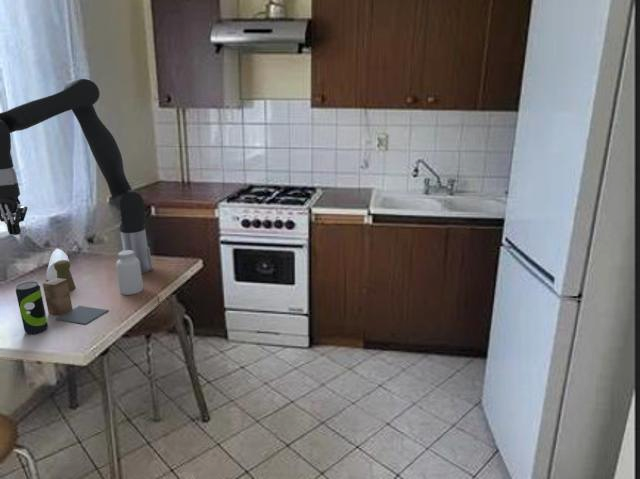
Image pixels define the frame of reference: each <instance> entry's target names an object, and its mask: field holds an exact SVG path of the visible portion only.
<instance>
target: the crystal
mask: <svg viewBox="0 0 640 479" xmlns="http://www.w3.org/2000/svg"><path fill="white" fill-rule="evenodd" d="M60 260H67V261H69V262H70V259H69V257H68V255H67V253H65V252H64V251H63V250H62V249H60V248H55V250H53V252H52V254H51V255H50V258H49V262H48V265H47V266H48V267H47V270H46V274H45V277H46V278H45V280H47V281H49V280H51V279H53V278H57V271H56V270H55V268H54V264H55V263H56V262H57V261H60Z"/></svg>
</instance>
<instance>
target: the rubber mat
mask: <svg viewBox="0 0 640 479" xmlns="http://www.w3.org/2000/svg"><path fill="white" fill-rule="evenodd" d="M108 312H109V310H108V309H103V308H98V307H97V308H96V307H91V306H83V305H78V306H77V307H73V309H72V310H71V311H69V312H67V313H65V314H63V315H61V316H57V317H56V318H55V320H56V321H60V322H65V323H74V324H80V325H83V326H84V325H88V324H89V323H91V322H93V321H94V320H96V319H98V318H99V317H101V316H103V315H104V314H106V313H108Z"/></svg>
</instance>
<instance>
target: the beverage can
mask: <svg viewBox="0 0 640 479" xmlns="http://www.w3.org/2000/svg"><path fill="white" fill-rule="evenodd" d="M15 293H16V299H17V303H18V307H19V312H20V316H21V321H22V326H23V329H24V332H25V333H26V334H28V335H38V334H40V333H43V332H45V331H46V330H47V329H48V326H49V324H48V320H47V314H46V308H45V304H44V300H43V295H42V291H41V286H40V285H39V282H38V281H34V280H33V281H26V282H22V283H20V284H17V285H16V286H15Z"/></svg>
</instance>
